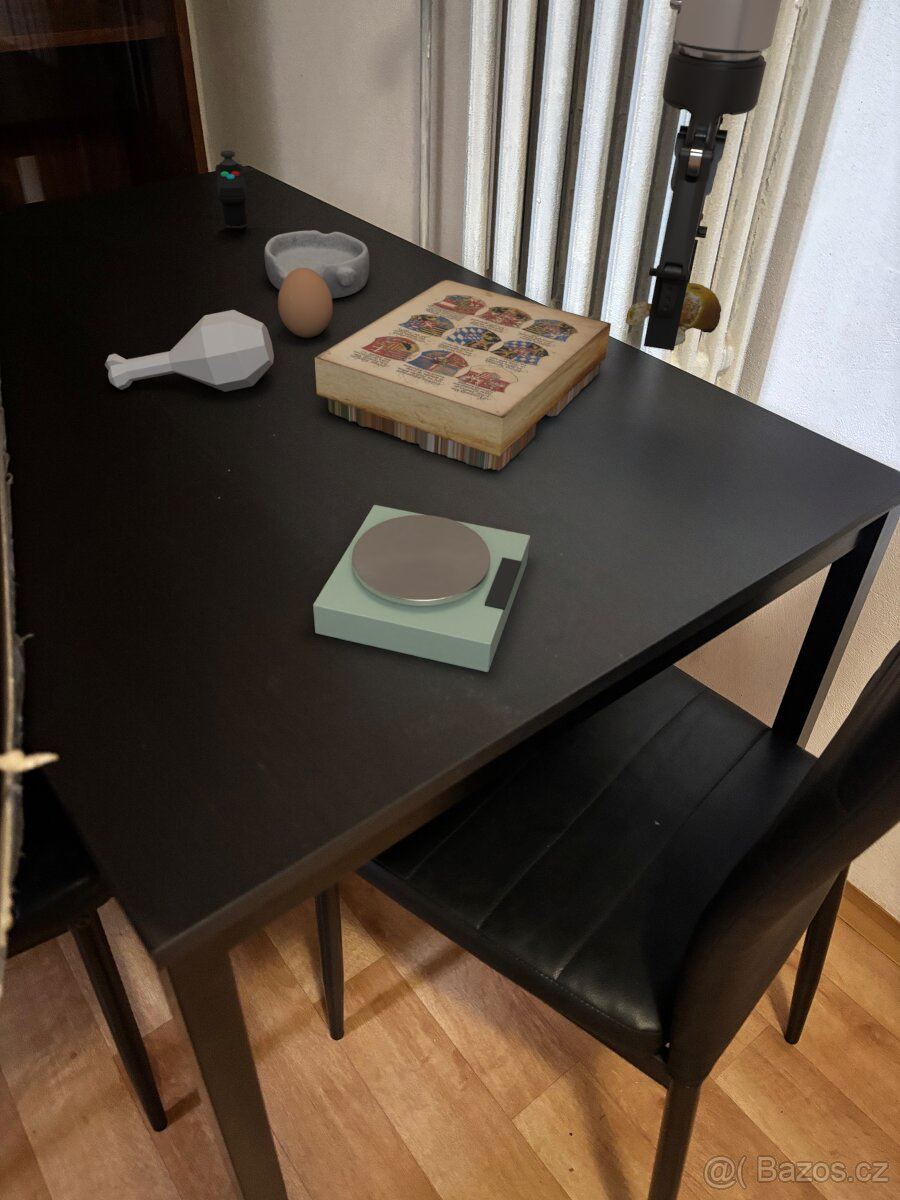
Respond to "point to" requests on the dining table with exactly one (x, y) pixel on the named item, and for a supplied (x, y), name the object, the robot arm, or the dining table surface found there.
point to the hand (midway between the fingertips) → (664, 325)
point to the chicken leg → (206, 355)
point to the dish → (319, 259)
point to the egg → (305, 303)
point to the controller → (231, 190)
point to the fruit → (686, 311)
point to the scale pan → (421, 560)
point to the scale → (426, 631)
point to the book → (463, 371)
